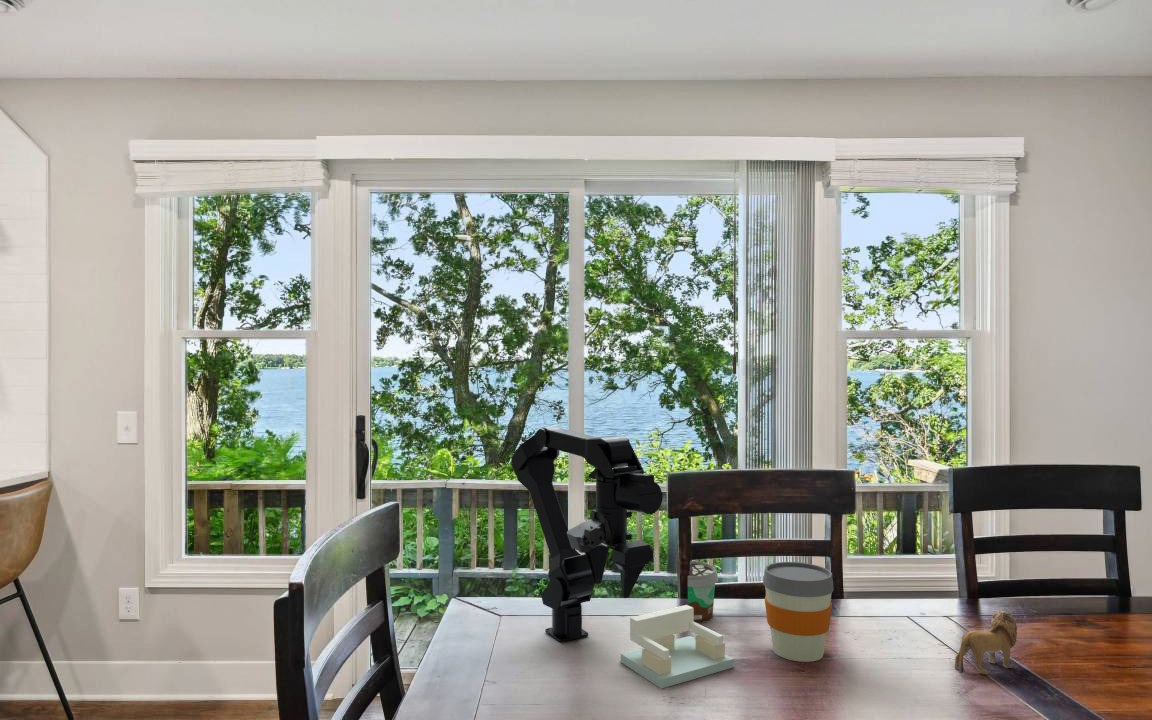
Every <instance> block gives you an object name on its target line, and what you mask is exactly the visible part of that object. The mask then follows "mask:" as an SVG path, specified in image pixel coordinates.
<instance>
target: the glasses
mask: <svg viewBox="0 0 1152 720" xmlns="http://www.w3.org/2000/svg"><path fill="white" fill-rule="evenodd" d="M629 626H630V627H629V629H630V630H629V640H630V641H631V642H633V643H634V644H637V645H638V646H640V647H641V648H645V649H646V650H648V651H650V652H652V653H653V654H655V655H657V656H658V657H660V658H662V659H663V660H667V659H669V650H668V649H667V648H665V647H663V646H661V645H660V644H658V643H656V642H654V641H653V639H657V638H661V637H665V636H669V635H677V634H680V633H685V632H688V631H689V632H691V633H694V634H696V636H697V635H699V636H701V637H703V638H705V639H707V640H709V641H711V642H713V643H715V644H717V645H722V644H723V642H724V635H722V634H720V633H719V632H716V631H714V630H712V629H711V628H708V627H706V626H703V625H701V623H696V622H694V608H692V607H690V606H688V604H685V605H684V604H683V605H679V606H676V607H671V608H667V609H661V610H657V611H654V612H649V613H645V614H640V615H636V616H631V617H629Z"/></svg>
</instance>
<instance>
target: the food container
mask: <svg viewBox="0 0 1152 720" xmlns="http://www.w3.org/2000/svg"><path fill="white" fill-rule="evenodd" d="M717 572H718V571H717V570H716V567H715V566H714V565H711V564H709V563H707V562H702V561H696V560H690V561H689V573H688V576H687V605H688V606H690V607H692V608H694V622H696V623H698V624H701V623H706V622H709V621H711V620H712V619H713V615H714V602H715V590H716V589H715V588H716V587H715V586H716V583H717V582H718V581H719V577H718V573H717ZM710 619H711V620H710Z"/></svg>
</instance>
